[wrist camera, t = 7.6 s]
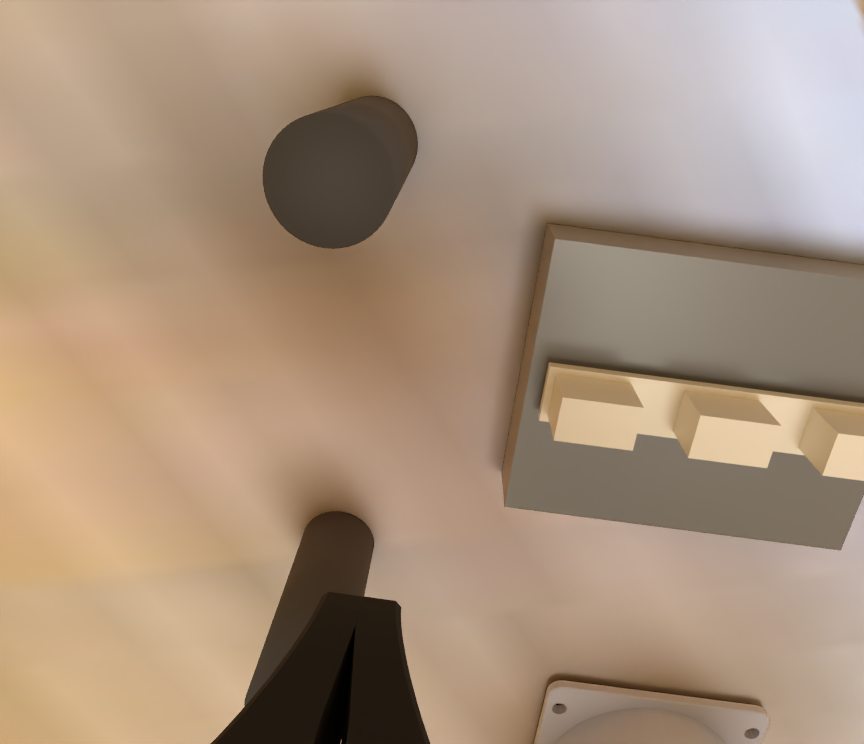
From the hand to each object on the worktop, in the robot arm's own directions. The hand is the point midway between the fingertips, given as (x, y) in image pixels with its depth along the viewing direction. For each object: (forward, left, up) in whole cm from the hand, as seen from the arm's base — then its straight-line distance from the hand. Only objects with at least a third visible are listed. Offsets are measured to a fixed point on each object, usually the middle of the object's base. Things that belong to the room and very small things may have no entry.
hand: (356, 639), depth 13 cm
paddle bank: (+2, -8, -8) cm, 12 cm away
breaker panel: (+2, -8, -10) cm, 13 cm away
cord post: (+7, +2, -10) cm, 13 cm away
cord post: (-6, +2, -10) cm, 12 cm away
